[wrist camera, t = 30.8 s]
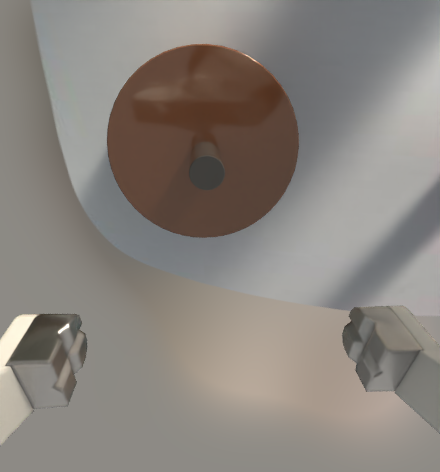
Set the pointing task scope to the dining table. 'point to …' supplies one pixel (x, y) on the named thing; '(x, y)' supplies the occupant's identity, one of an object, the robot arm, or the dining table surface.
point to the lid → (202, 140)
